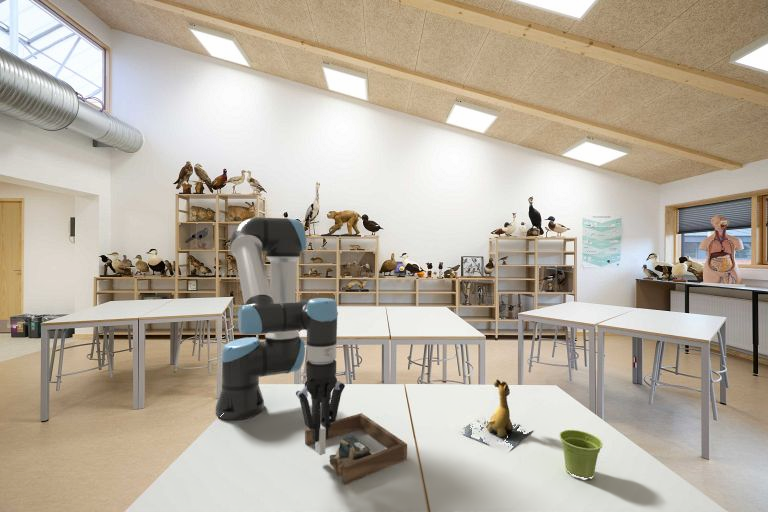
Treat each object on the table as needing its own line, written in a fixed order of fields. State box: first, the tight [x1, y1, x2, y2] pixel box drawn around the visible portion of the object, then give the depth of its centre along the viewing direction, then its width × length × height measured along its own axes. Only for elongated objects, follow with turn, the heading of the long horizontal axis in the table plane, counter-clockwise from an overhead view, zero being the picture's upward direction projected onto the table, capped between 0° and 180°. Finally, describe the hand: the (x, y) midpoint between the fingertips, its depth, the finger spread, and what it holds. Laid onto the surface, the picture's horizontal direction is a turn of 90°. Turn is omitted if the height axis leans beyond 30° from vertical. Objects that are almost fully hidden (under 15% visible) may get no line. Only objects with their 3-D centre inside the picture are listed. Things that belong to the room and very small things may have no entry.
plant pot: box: [558, 429, 603, 478], centre depth 93 cm, size 9×9×9 cm
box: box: [304, 412, 408, 485], centre depth 101 cm, size 22×19×4 cm
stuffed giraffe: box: [461, 379, 529, 449], centre depth 113 cm, size 16×18×16 cm
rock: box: [328, 434, 372, 476], centre depth 94 cm, size 9×9×6 cm
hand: (320, 452), depth 95 cm, fingers closed
